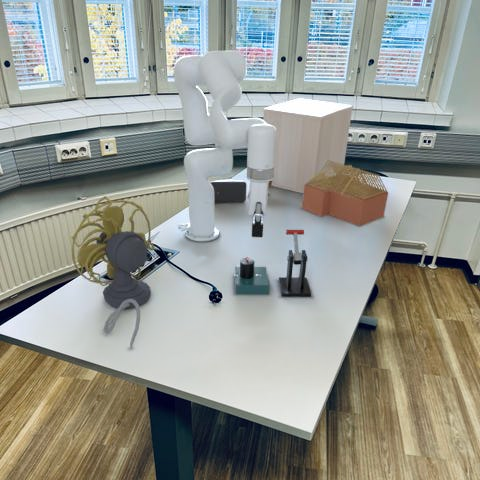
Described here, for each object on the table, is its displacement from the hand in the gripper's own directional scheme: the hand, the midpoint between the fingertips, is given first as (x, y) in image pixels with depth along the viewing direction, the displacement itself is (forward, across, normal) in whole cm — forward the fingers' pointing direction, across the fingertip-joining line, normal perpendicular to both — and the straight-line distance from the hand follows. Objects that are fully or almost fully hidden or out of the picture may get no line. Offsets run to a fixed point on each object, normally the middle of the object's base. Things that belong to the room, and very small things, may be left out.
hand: (257, 229), depth 138 cm
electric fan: (+18, +19, -33) cm, 42 cm away
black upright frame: (+18, +3, +13) cm, 22 cm away
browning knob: (+15, +2, -3) cm, 15 cm away
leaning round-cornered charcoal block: (+19, -70, -14) cm, 74 cm away
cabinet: (+19, -106, +22) cm, 110 cm away
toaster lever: (+6, -1, +12) cm, 14 cm away
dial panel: (+18, +2, -1) cm, 18 cm away
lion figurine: (+19, -81, +1) cm, 83 cm away
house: (+19, -64, +37) cm, 76 cm away
